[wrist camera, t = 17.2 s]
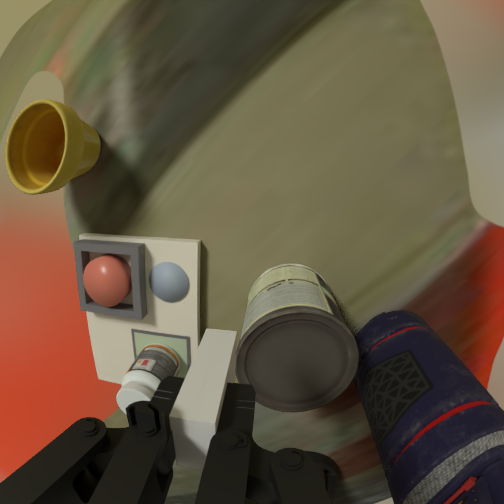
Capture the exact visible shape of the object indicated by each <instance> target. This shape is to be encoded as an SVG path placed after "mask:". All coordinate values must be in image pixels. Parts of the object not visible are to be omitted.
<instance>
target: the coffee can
mask: <svg viewBox="0 0 504 504" xmlns="http://www.w3.org/2000/svg"><path fill="white" fill-rule="evenodd" d="M358 361H359V352H358V347H357V343H356V340H355V338H354V336H353V334H352V333H351V331H350V329H349V328H348V327H347V325H346V323H345V321H344V319H343V316H342V314H341V312H340V310H339V308H338V306H337V304H336V302H335V300H334V298H333V296H332V294H331V292H330V289H329V286H328V284H327V283H326V281H325V280H324V278H323V277H322V276H321V275H320V274H319V273H318V272H316V271H315V270H313V269H312V268H310V267H307V266H304V265H301V264H291V263H290V264H281V265H278V266H275V267H272V268H270V269H269V270H267V271H265V272H264V273H263V274H262V275H261V276H260V277H259V278H258V279H257V280H256V281H255V282H254V284H253V286H252V288H251V290H250V293H249V297H248V306H247V310H246V315H245V320H244V325H243V330H242V334H241V339H240V342H239V344H238V347H237V351H236V366H235V372H236V376H237V379H238V381H239V383H240V384H251V385H252V386H253V388H254V390H255V392H256V397H255V401H256V402H257V403H259V404H261V405H263V406H265V407H268V408H270V409H273V410H277V411H282V412H303V411H308V410H312V409H316V408H319V407H321V406H324V405H326V404H328V403H330V402H331V401H333V400H334V399H336V398H337V397H338V396H339V395H341V394H342V393H343V392H344V391H345V390H346V388H347V387H348V386H349V384H350V383H351V382H352V380H353V378H354V376H355V374H356V371H357V368H358Z"/></svg>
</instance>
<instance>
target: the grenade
mask: <svg viewBox="0 0 504 504" xmlns="http://www.w3.org/2000/svg"><path fill="white" fill-rule="evenodd" d="M355 340H356V343H357V347H358V352H359V361H358V368H357V371H356V374H355V376H354V381H355V384H356V387H357V389H358V393H359V396H360V399H361V402H362V405H363V407H364V410H365V413H366V416H367V419H368V422H369V425H370V428H371V431H372V434H373V437H374V440H375V443H376V446H377V449H378V453H379V456H380V459H381V462H382V465H383V468H384V472H385V475H386V477H387V480H388V485H389V488H390V491H391V495H392V498H393V501H394V504H504V411H503V410H502V409H501V408H500V407H499V405H498V403H497V402H496V401H495V400H494V399H493V397H492V396H491V395H490V394H489V393H488V391H487V390H486V389H485V388H484V387H483V385H482V384H481V383H480V382H479V381H478V380H477V378H476V377H475V376H474V375H473V374H472V373H471V371H470V370H469V369H468V368H467V367H466V366H465V365H464V363H463V362H462V361H461V360H460V359H459V358H458V357H457V356H456V355H455V353H454V352H453V351H452V350H451V349H450V348H449V347H448V346H447V345H446V344H445V342H444V341H443V340H442V339H441V338H440V337H439V336H438V335H437V334H436V333H435V332H434V331H433V330H432V329H431V328H430V327H429V325H428V324H427V323H426V322H425V321H424V320H423V319H422V318H421V317H420V316H418V315H416V314H414V313H412V312H409V311H404V310H401V311H391V312H388V313H385V312H383V313H381V314H379V315H377V316H375V317H374V318H373V319H371V320H370V321H369V323H367V324H366V325H365V326H364V327H363V328H362V329H361V330H360V331H359V332H358V334H357V336H356V337H355Z"/></svg>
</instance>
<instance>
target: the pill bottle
mask: <svg viewBox="0 0 504 504" xmlns="http://www.w3.org/2000/svg"><path fill="white" fill-rule="evenodd" d="M179 370H180V360H179V357H178V356H177V354H176V353H175V352H174V351H173V350H172V349H171V348H170V347H168V346H166V345H164V344H160V343H152V344H148V345H147V346H145V347H144V348H143V349H142V350H141V352H140V353H139V355H138V356H137V357H136V359H135V360H134V362H133V363H132V365H131V366H130V368H129V369H128V371H127V372H126V374H125V375H124V377H123V379H122V384H121V386H122V387H121V389H120V390H119V392H118V394H117V403H118V405H119V407H120V408H121V410H122V411H123V412H124V413H125V414H126V410H125V409H126V407H127V406H128V405H129V404H132V403H134V402H137V401H142V400H143V401H151V399H152V397H153V395H154V393H155V391H156V390H157V387H158V385H159V384H160V382H161V381H162V380H163V379H165V378H166V377H167V376H175V377H177V375H178V373H179Z"/></svg>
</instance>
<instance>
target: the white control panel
mask: <svg viewBox="0 0 504 504" xmlns="http://www.w3.org/2000/svg"><path fill="white" fill-rule="evenodd" d="M79 239H80V240H79V241H76V242H74V247H75V261H76V272H77V282H78V291H79V299H80V307H81V310H83V311H86V312H87V320H88V326H89V333H90V339H91V344H92V350H93V355H94V360H95V365H96V370H97V374H98V379H101V380H105V381H109V382H114V383H118V384H122V379H123V377H124V375H125V374H126V372H127V371H128V369H129V368H130V366H131V365H132V363H133V362H134V360H135V359H136V357H137V356H138V355H139V353H140V352H141V350H142V349H143V348H144V347H145V346H147V345H148V344H152V343H160V344H164V345H166V346H168V347H170V348H171V349H172V350H173V351H174V352H175V353H176V354H177V356H178V357H179V360H180V370H179V373H178V375H177V377H182V378H185V377H186V375H187V373H188V370H189V368H190V366H191V363H192V361H193V359H194V356H195V354H196V352H197V349H198V347H199V345H200V248H201V240H192V239H176V238H160V237H144V236H128V235H111V234H94V233H84V234H81V235H79ZM104 254H116V255H118V256H120V257H122V258H123V259H124V260H125V261H126V262H127V263H128V264H129V266H130V268H131V279H132V291H131V292H130V294H129V295H128V296H126V297H125V298H124V299H123V300H122V301H121V302H120V303H118V304H117V305H115V306H111V307H106V306H102V305H100V304H98V303H96V302H95V301H94V300H93V299H92V298H91V297H90V296H89V295H88V293H87V291H86V289H85V286H84V282H83V274H84V270H85V268H86V266H87V264H88V263H89V262H91V261H92V260H94V259H96V258H98V257H100V256H102V255H104Z"/></svg>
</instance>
